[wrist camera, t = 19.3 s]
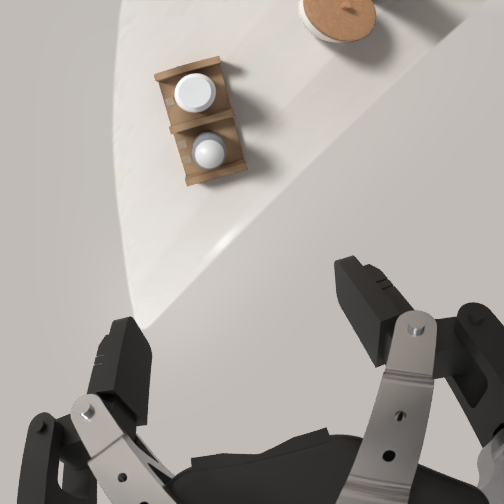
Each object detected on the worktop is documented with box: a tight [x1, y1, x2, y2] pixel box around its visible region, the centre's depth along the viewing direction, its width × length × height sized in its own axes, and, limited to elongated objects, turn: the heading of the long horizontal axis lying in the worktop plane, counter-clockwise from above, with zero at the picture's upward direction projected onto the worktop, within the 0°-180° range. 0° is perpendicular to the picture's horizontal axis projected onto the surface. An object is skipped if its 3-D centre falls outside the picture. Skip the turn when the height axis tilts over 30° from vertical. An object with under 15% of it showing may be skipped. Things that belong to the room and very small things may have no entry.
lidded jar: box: [298, 0, 376, 43], centre depth 32 cm, size 11×11×9 cm
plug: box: [192, 130, 227, 170], centre depth 40 cm, size 4×4×8 cm
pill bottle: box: [175, 73, 216, 113], centre depth 36 cm, size 5×5×9 cm
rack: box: [154, 56, 248, 186], centre depth 41 cm, size 9×17×4 cm, turn 13°
